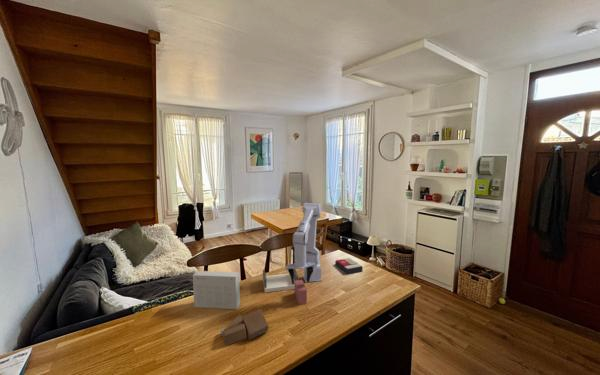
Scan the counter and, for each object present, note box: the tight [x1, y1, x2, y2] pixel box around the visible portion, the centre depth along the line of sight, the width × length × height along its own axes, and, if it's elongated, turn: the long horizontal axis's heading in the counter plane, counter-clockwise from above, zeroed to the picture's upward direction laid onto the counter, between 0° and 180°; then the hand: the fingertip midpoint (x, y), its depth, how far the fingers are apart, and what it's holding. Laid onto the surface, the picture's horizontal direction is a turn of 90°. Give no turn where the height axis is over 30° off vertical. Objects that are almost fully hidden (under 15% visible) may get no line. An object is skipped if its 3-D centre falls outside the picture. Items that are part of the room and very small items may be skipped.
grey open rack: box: [262, 269, 299, 293], centre depth 137 cm, size 18×14×6 cm
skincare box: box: [192, 270, 241, 310], centre depth 117 cm, size 21×5×16 cm, turn 84°
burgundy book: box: [294, 279, 308, 305], centre depth 124 cm, size 4×10×7 cm, turn 13°
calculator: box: [334, 257, 364, 276], centre depth 157 cm, size 11×4×15 cm
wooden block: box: [220, 308, 269, 346], centre depth 100 cm, size 8×13×18 cm
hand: (300, 282), depth 123 cm, fingers open, 7 cm apart
